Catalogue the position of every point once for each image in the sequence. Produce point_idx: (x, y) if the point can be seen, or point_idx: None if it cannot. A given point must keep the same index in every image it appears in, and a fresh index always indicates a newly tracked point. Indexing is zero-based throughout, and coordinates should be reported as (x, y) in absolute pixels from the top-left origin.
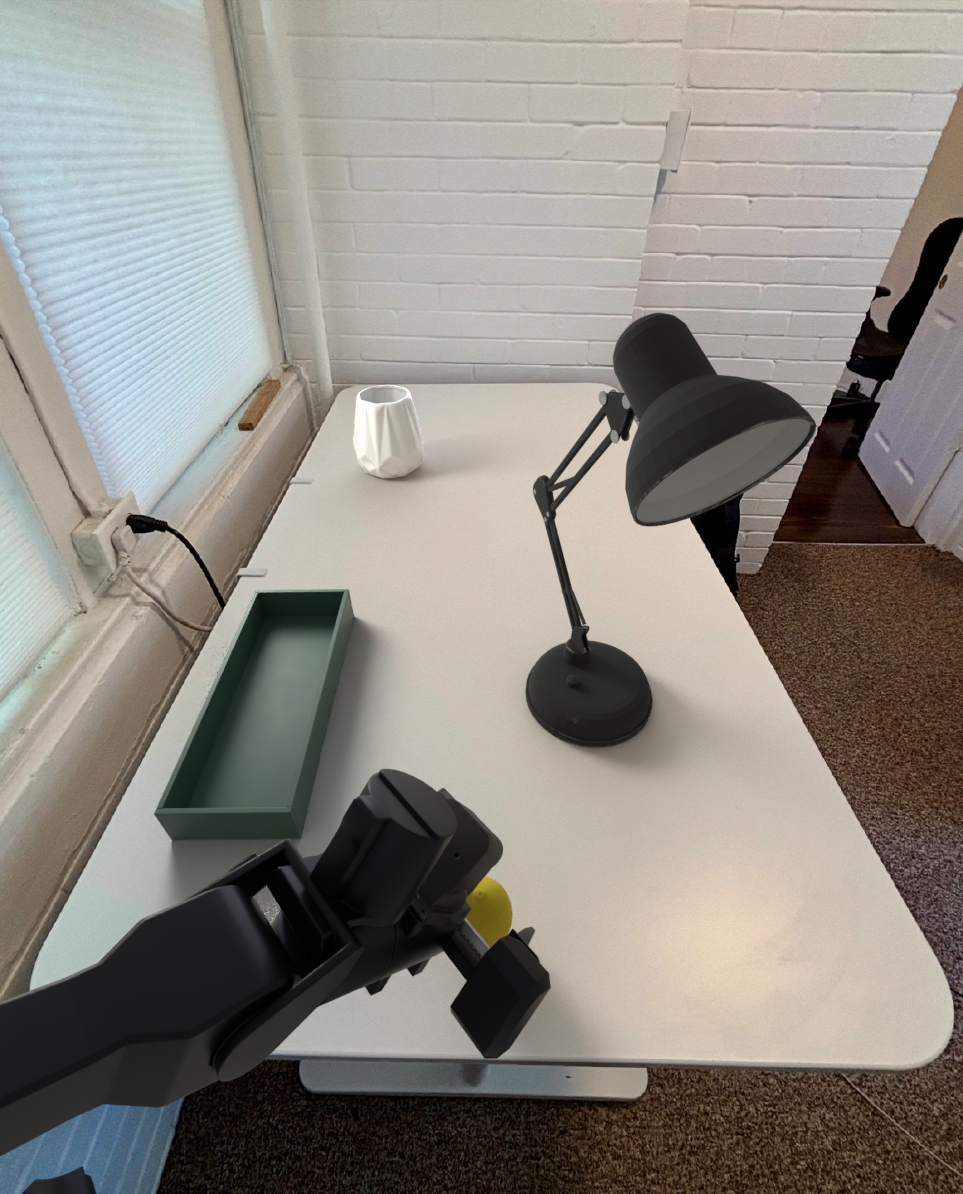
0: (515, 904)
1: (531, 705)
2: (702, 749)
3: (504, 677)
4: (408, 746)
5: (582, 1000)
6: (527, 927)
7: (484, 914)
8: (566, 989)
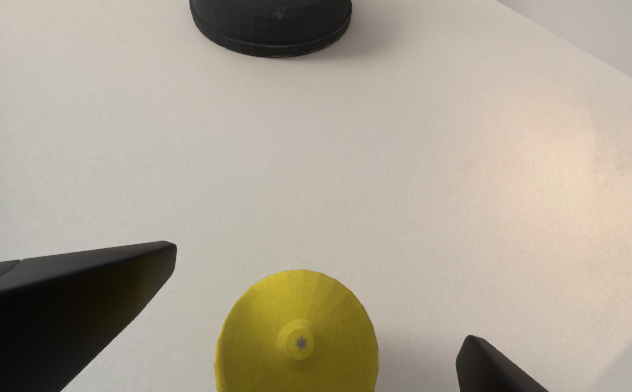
0: None
1: (210, 29)
2: (415, 22)
3: (158, 18)
4: (33, 139)
5: None
6: (488, 356)
7: (339, 387)
8: None
